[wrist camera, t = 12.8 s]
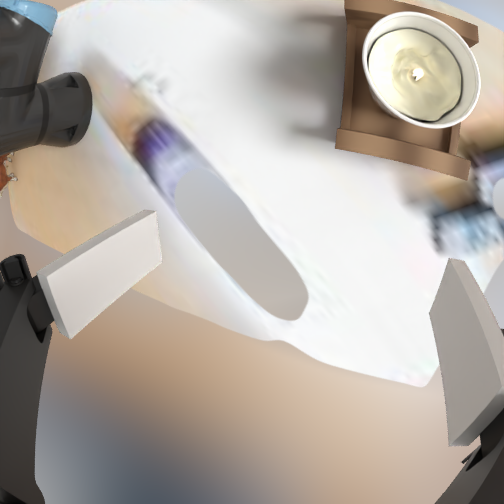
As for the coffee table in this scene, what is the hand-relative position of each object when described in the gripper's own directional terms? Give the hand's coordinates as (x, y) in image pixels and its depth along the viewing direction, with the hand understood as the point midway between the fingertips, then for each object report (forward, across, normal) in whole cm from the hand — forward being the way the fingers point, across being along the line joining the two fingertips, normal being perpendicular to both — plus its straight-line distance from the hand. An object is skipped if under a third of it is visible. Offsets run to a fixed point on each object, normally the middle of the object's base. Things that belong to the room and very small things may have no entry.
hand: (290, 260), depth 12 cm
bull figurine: (+26, -82, -1) cm, 86 cm away
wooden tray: (+25, +8, +11) cm, 29 cm away
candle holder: (+24, +7, +11) cm, 28 cm away
